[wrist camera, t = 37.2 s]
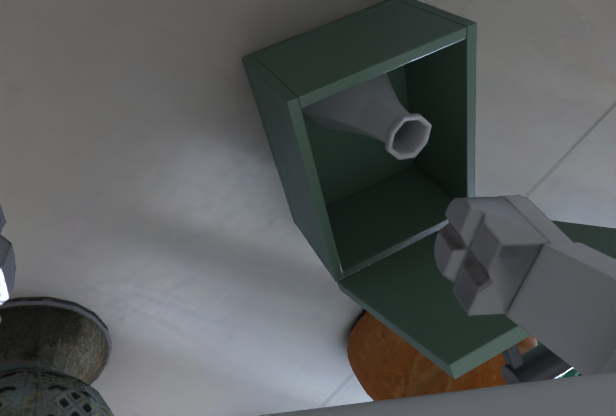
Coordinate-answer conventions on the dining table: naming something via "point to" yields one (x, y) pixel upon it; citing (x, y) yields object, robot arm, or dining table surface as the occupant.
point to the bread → (411, 365)
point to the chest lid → (456, 311)
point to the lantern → (51, 358)
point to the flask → (373, 116)
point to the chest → (365, 149)
